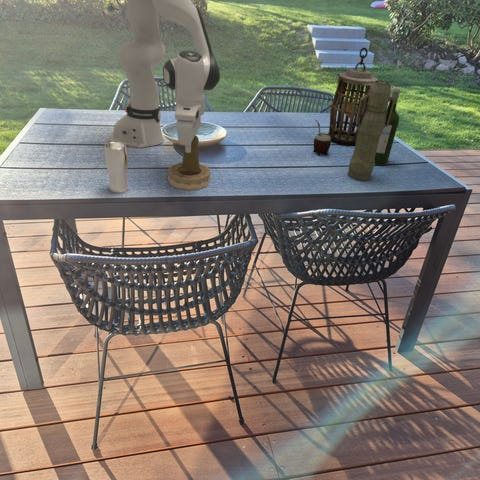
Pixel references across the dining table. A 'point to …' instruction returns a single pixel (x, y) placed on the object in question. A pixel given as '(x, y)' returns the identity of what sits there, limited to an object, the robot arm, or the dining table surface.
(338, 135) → the lantern
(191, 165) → the dark brown rounded piece
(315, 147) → the mate gourd
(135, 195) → the dining table surface
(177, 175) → the tan faceted ring
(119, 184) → the beer glass
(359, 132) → the thermos
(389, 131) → the wine bottle
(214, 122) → the dining table surface
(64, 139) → the dining table surface
